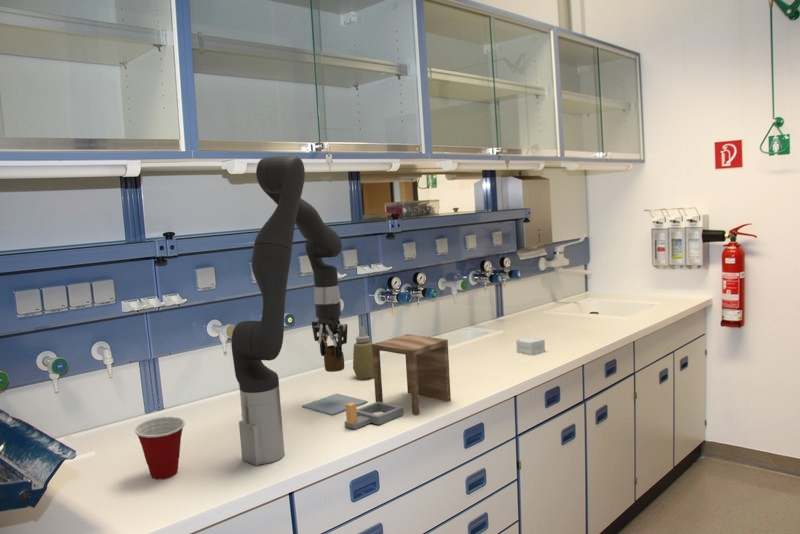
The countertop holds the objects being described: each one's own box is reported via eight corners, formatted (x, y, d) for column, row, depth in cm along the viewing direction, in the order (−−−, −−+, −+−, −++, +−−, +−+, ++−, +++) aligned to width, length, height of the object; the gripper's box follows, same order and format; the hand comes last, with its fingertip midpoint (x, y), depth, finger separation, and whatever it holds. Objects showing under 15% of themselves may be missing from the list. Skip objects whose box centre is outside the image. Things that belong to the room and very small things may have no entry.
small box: (545, 352, 236) (545, 339, 236) (531, 356, 232) (531, 342, 231) (530, 349, 242) (529, 336, 242) (516, 353, 238) (515, 340, 237)
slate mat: (332, 415, 177) (332, 414, 177) (301, 407, 187) (301, 405, 187) (367, 402, 187) (367, 401, 187) (337, 394, 197) (337, 393, 197)
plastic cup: (146, 489, 136) (140, 436, 135) (134, 474, 144) (129, 424, 143) (195, 474, 142) (191, 424, 141) (181, 460, 151) (176, 412, 150)
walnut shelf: (416, 415, 173) (412, 350, 171) (375, 405, 184) (371, 344, 182) (450, 400, 184) (447, 339, 183) (410, 392, 195) (407, 334, 194)
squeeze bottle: (381, 376, 216) (378, 325, 214) (365, 382, 210) (361, 329, 208) (365, 373, 221) (362, 323, 219) (348, 378, 215) (345, 327, 213)
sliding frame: (362, 431, 162) (360, 408, 162) (337, 424, 169) (335, 401, 169) (403, 414, 174) (402, 392, 173) (378, 407, 181) (377, 387, 180)
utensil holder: (343, 371, 183) (340, 331, 183) (322, 372, 184) (319, 332, 183) (346, 366, 189) (342, 327, 188) (325, 367, 190) (322, 329, 189)
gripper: (302, 301, 186) (306, 356, 188) (333, 304, 176) (337, 362, 178) (321, 297, 192) (325, 351, 193) (353, 300, 182) (357, 357, 183)
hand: (331, 356), depth 185 cm, fingers closed on utensil holder, 5 cm apart
